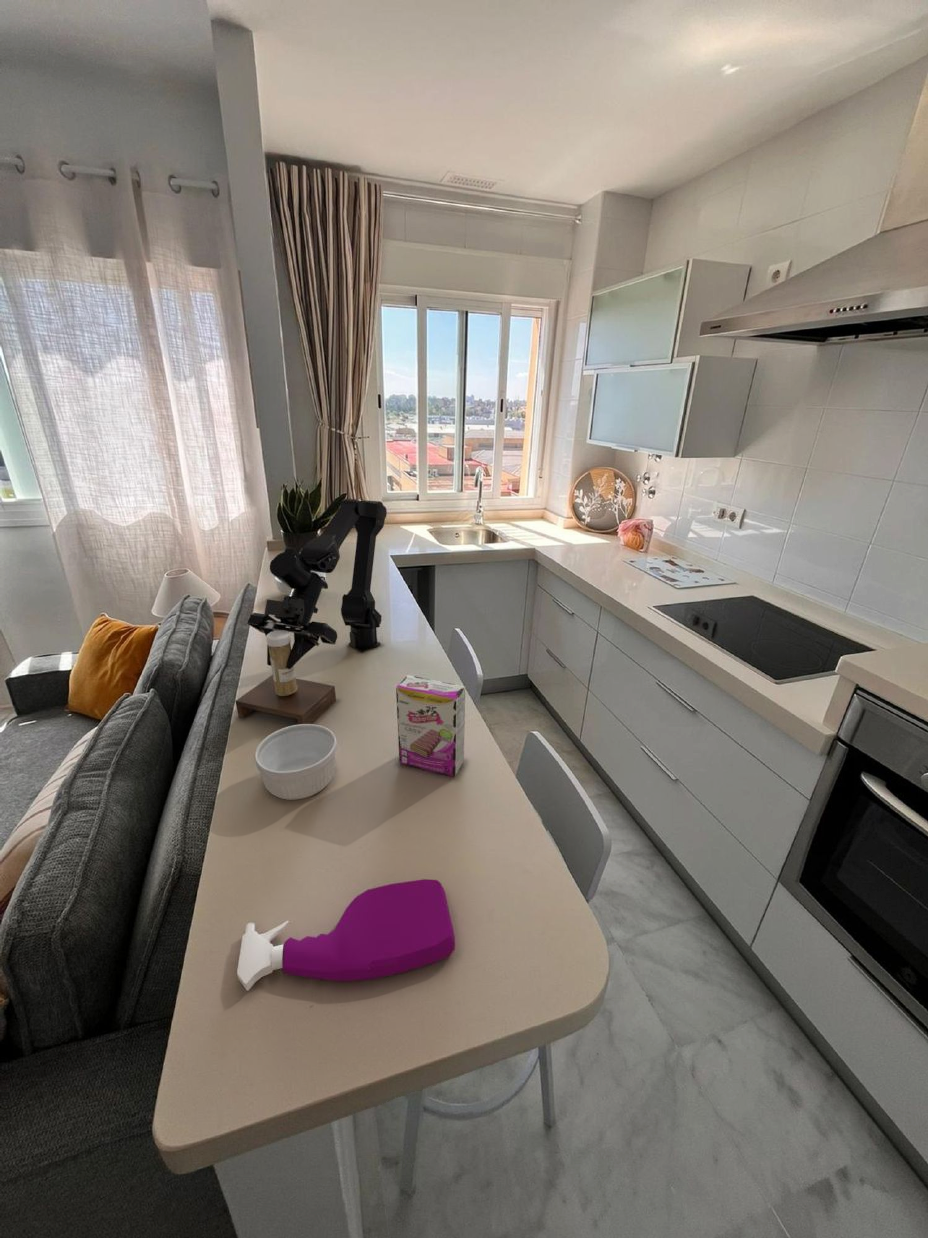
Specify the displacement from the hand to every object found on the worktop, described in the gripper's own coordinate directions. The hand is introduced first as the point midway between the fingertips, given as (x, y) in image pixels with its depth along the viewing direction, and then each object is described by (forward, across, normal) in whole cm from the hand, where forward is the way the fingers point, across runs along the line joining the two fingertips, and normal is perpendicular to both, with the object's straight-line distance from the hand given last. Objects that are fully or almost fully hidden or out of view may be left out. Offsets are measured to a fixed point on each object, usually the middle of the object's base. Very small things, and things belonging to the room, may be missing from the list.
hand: (278, 666), depth 101 cm
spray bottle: (+36, +38, -21) cm, 56 cm away
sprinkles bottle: (+4, 0, +6) cm, 7 cm away
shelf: (+7, 0, +8) cm, 11 cm away
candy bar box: (+12, +36, +4) cm, 38 cm away
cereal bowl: (-37, -40, +53) cm, 76 cm away
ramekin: (+20, +16, -4) cm, 25 cm away
